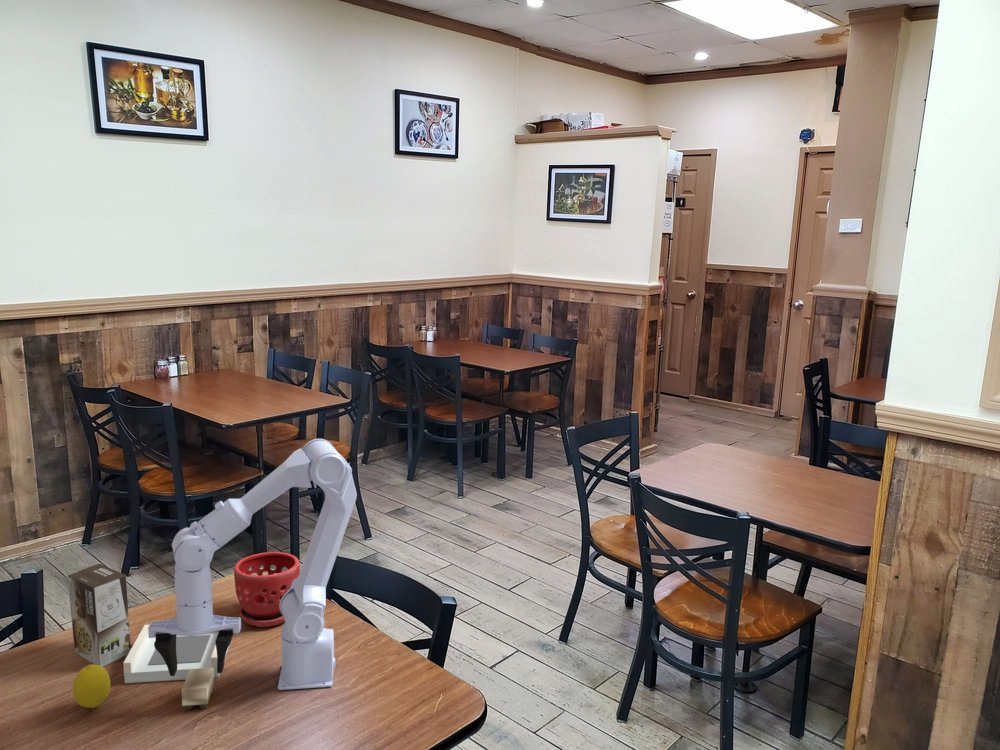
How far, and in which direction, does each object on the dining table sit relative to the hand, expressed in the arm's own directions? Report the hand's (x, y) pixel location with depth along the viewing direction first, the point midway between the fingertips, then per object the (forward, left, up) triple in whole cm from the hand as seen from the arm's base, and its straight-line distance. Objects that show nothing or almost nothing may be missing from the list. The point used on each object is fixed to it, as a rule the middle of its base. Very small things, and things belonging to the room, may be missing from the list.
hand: (197, 671), depth 128 cm
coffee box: (+21, -17, -6) cm, 28 cm away
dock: (+6, -13, -6) cm, 15 cm away
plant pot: (-8, -28, -6) cm, 30 cm away
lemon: (+17, 0, -6) cm, 18 cm away
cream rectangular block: (0, 0, -6) cm, 6 cm away
